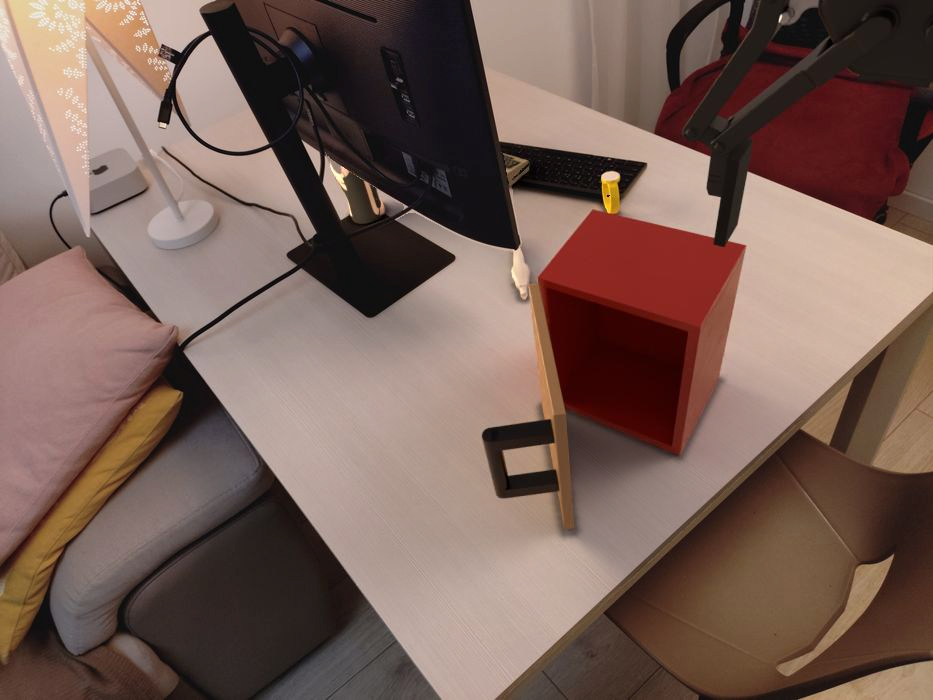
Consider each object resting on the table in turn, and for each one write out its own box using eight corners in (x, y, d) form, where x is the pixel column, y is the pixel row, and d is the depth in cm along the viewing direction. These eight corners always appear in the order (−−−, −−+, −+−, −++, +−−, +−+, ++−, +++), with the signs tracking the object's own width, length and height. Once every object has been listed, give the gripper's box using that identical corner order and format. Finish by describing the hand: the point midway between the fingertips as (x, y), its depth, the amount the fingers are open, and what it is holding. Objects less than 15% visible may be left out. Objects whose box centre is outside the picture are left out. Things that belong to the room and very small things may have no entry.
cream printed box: (531, 170, 111) (529, 153, 108) (503, 194, 107) (500, 177, 105) (463, 150, 119) (460, 134, 116) (435, 172, 115) (431, 156, 113)
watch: (623, 218, 97) (624, 185, 93) (605, 221, 97) (606, 188, 93) (614, 197, 101) (615, 164, 97) (597, 200, 102) (597, 167, 97)
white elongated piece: (534, 300, 88) (533, 290, 87) (515, 303, 88) (514, 293, 87) (523, 236, 98) (522, 226, 97) (506, 238, 99) (505, 229, 97)
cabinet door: (503, 537, 65) (475, 426, 50) (490, 414, 76) (464, 294, 61) (574, 528, 64) (565, 413, 50) (550, 405, 75) (538, 282, 61)
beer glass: (354, 230, 107) (326, 151, 96) (344, 210, 111) (316, 132, 100) (392, 216, 108) (368, 136, 97) (380, 197, 112) (356, 118, 101)
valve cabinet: (679, 455, 68) (700, 327, 54) (549, 402, 76) (536, 277, 61) (718, 379, 74) (746, 245, 60) (594, 337, 82) (592, 208, 67)
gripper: (636, -118, 29) (625, 246, 44) (1507, -149, 17) (1079, 362, 32) (696, -161, 33) (667, 189, 48) (1444, -211, 21) (1087, 274, 36)
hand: (833, 259), depth 40 cm, fingers open, 13 cm apart
